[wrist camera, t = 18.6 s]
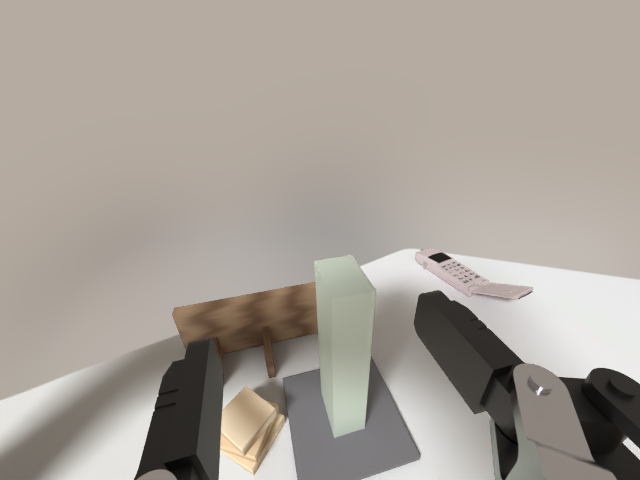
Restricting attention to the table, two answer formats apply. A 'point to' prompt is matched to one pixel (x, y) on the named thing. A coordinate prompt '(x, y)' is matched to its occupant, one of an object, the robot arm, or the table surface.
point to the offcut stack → (249, 429)
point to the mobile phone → (466, 276)
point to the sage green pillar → (344, 340)
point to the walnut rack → (251, 320)
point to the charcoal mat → (350, 449)
